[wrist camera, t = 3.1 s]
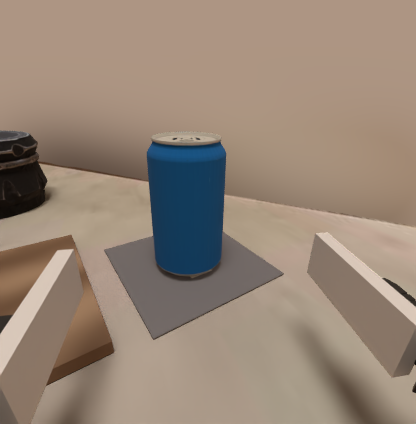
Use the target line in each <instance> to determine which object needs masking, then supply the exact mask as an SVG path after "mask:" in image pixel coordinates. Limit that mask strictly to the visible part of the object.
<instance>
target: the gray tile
mask: <svg viewBox="0 0 416 424" xmlns="http://www.w3.org/2000/svg"><path fill="white" fill-rule="evenodd" d="M105 252H106V254H107V256H108V258H109V260H110V261H111V263H112V265H113V267H114V269H115V271H116V272H117V274H118V276H119V278H120V280H121V281H122V283H123V285H124V287H125V289H126V291H127V292H128V294H129V296H130V298H131V300H132V301H133V303H134V305H135V307H136V309H137V311H138V312H139V314H140V316H141V318H142V320H143V321H144V323H145V325H146V327H147V329H148V331H149V332H150V334H151V336H152V338H153V340H154V339H156V338H158V337H160V336H162V335H164V334H166V333H168V332H170V331H172V330H174V329H176V328H178V327H180V326H182V325H184V324H186V323H188V322H190V321H192V320H194V319H196V318H198V317H200V316H202V315H204V314H206V313H208V312H209V311H211V310H213V309H215V308H217V307H219V306H221V305H223V304H225V303H227V302H229V301H231V300H233V299H235V298H237V297H239V296H241V295H243V294H245V293H247V292H249V291H251V290H253V289H255V288H257V287H259V286H261V285H263V284H265V283H267V282H269V281H271V280H273V279H275V278H277V277H279V276H281V275H283V274H284V273H282V272H281V271H279V270H278V269H277V268H275V267H274V266H272V265H271V264H269V263H268V262H266V261H265V260H263V259H262V258H260V257H259V256H257V255H256V254H255V253H253V252H252V251H250V250H249V249H247V248H246V247H244V246H243V245H241V244H240V243H238V242H237V241H236V240H234V239H233V238H231V237H230V236H228V235H227V234H225V233H224V232H223V233H222V255H221V260H220V262H219V263H218V264H217V265H216V266H215V267H214V268H212V269H211V270H209V271H207V272H205V273H203V274H200V275H197V276H190V277H185V276H178V275H175V274H172V273H170V272H168V271H166V270H164V269H162V268H161V267H160V266H159V265H158V264H157V262H156V260H155V251H154V238H153V236H152V237H148V238H145V239H141V240H138V241H134V242H130V243H127V244H123V245H120V246H116V247H113V248H109V249H106V250H105Z"/></svg>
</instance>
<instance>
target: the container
mask: <svg viewBox="0 0 416 424" xmlns="http://www.w3.org/2000/svg"><path fill="white" fill-rule="evenodd" d="M37 144H38V143H37V141H36V140H35V139H34V138H33V137H32V136H31V135H30V134H29V133H25V132H17V131H0V218H5V217H10V216H14V215H17V214H21V213H23V212H26V211H28V210H30V209H32V208H35V207H37V206H39V205H41V204H42V203H43V202H44V200H45V195H44V193H45V190H44V188H45V186H46V183H47V179H46V177H45V175H44V173H43V171H42V169H41V167H40V165H39V163H38V161H37V160H38V159H39V156H38V153H37V152H35V151H36V148H37Z"/></svg>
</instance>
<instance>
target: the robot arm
mask: <svg viewBox="0 0 416 424" xmlns="http://www.w3.org/2000/svg"><path fill="white" fill-rule="evenodd" d="M307 273H308V274H309V275H310V276H311V278H312V279H313V280H314V281H315V283H316V284H317V285H318V286H319V288H320V289H321V290H322V291H323V293H324V294H325V295H326V296H327V298H328V299H329V300H330V301H331V303H332V304H333V305H334V306H335V308H336V309H337V310H338V311H339V312H340V314H341V315H342V316H343V317H344V319H345V320H346V321H347V322H348V324H349V325H350V326H351V327H352V329H353V330H354V331H355V332H356V334H357V335H358V336H359V337H360V339H361V340H362V341H363V342H364V344H365V345H366V346H367V347H368V349H369V350H370V351H371V352H372V353H373V355H374V356H375V357H376V358H377V360H378V361H379V362H380V363H381V365H382V366H383V367H384V368H385V370H386V371H387V372H388V373H389V375H390V376H391V377H398V376H404V375H409V374H410V372H411V370H412V368H413V366H414V364H415V365H416V301H415V299H414V298H413V297H412V296H411V295H409V294H407V292H406V291H404V290H403V289H402V288H401V287H400V286H398V285H397V284H395V283H393V282H391V281H390V280H388V279H386V278H381V277H380V276H378V275H377V274H376V273H375V272H374V271H373V270H371V269H370V268H369V267H368V266H367V265H365V264H364V263H363V262H362V261H361V260H360V259H358V258H357V257H356V256H355V255H354V254H352V253H351V252H350V251H349V250H348V249H347V248H345V247H344V246H343V245H342V244H341V243H339V242H338V241H337V240H336V239H335V238H333V237H332V236H331V235H330V234H329V233H315V238H314V243H313V247H312V252H311V256H310V261H309V266H308V270H307ZM83 293H84V291H83V287H82V282H81V278H80V274H79V269H78V265H77V261H76V256H75V252H74V249H68V250H57V252H56V253H55V255H54V256H53V257H52V259H51V260H50V262H49V263H48V265H47V266H46V268H45V269H44V271H43V272H42V274H41V275H40V277H39V278H38V279H37V281H36V282H35V284H34V285H33V287H32V288H31V290H30V291H29V293H28V294H27V296H26V297H25V299H24V300H23V301H22V303H21V304H20V306H19V307H18V309H17V310H16V312H15V313H14V315H4V316H0V424H30V423H31V421H32V419H33V416H34V414H35V411H36V409H37V406H38V404H39V401H40V399H41V396H42V394H43V391H44V389H45V386H46V384H47V382H48V379H49V377H50V374H51V372H52V369H53V367H54V364H55V362H56V359H57V357H58V354H59V352H60V349H61V347H62V344H63V342H64V340H65V337H66V335H67V332H68V330H69V327H70V325H71V322H72V320H73V317H74V315H75V312H76V310H77V307H78V305H79V303H80V300H81V298H82V295H83ZM412 392H414V393H416V383H415V385H414V386H413V390H412Z"/></svg>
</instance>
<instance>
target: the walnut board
mask: <svg viewBox="0 0 416 424" xmlns="http://www.w3.org/2000/svg"><path fill="white" fill-rule="evenodd" d="M68 249H74V252H75V256H76V261H77V265H78V269H79V274H80V278H81V282H82V287H83V291H84V293H83V295H82V298H81V300H80V303H79V305H78V307H77V310H76V312H75V315H74V317H73V320H72V322H71V325H70V327H69V330H68V332H67V335H66V337H65V340H64V342H63V344H62V347H61V349H60V352H59V354H58V357H57V359H56V362H55V364H54V367H53V369H52V372H51V374H50V377H49V379H48V382H47V384H46V385H48V384H50V383H52V382H54V381H56V380H58V379H60V378H62V377H64V376H66V375H68V374H71V373H73V372H75V371H77V370H79V369H81V368H83V367H85V366H87V365H89V364H91V363H93V362H95V361H97V360H99V359H101V358H103V357H105V356H107V355H109V354H111V353H114V350H113V345H112V340H111V338H110V335H109V333H108V330H107V327H106V325H105V322H104V319H103V317H102V314H101V311H100V309H99V306H98V304H97V301H96V298H95V296H94V293H93V290H92V288H91V285H90V283H89V280H88V277H87V275H86V272H85V269H84V267H83V264H82V261H81V259H80V256H79V254H78V251H77V248H76V246H75V243H74V240H73V238H72V235H68V236H64V237H60V238H56V239H51V240H47V241H43V242H39V243H35V244H30V245H26V246H22V247H18V248H14V249H9V250H5V251H1V252H0V316H4V315H14V313H15V312H16V310H17V309H18V307H19V306H20V304H21V303H22V301H23V300H24V299H25V297H26V296H27V294H28V293H29V291H30V290H31V288H32V287H33V285H34V284H35V282H36V281H37V279H38V278H39V277H40V275H41V274H42V272H43V271H44V269H45V268H46V266H47V265H48V263H49V262H50V260H51V259H52V257H53V256H54V255H55V253H56V252H57V250H68Z"/></svg>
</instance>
